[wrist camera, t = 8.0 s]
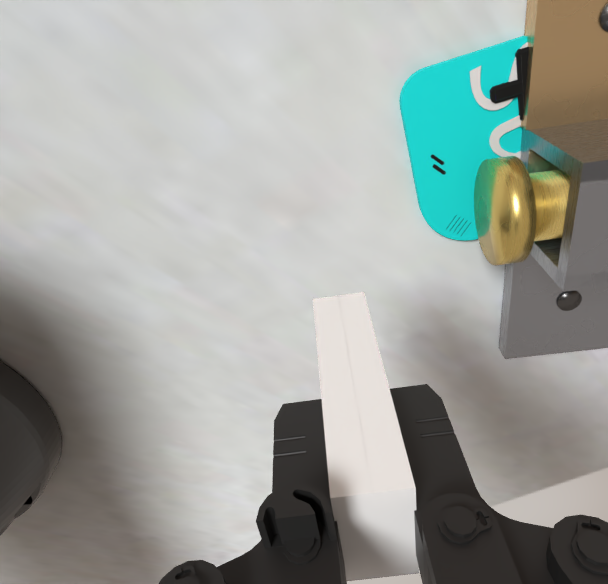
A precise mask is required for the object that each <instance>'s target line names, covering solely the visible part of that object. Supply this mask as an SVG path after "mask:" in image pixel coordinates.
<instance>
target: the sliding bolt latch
mask: <svg viewBox="0 0 608 584" xmlns="http://www.w3.org/2000/svg"><path fill="white" fill-rule="evenodd" d="M524 36H528V38H527V42H528V47H529V57H528V69H527V81H526V92H525V104H524V113H523V120H521V126H520V127H521V128H522V137H521V149H520V151H521V157H520V160H521V161H522V162H523V163H524V165H525V167H526V169H527V171H528V173H536V172H544V171H551V170H558V169H561V170H562V171H564V172H565V173H566V174H568V175H569V176H571V179H570V186H569V193H568V200H567V207H566V214H565V221H564V227H563V234H562V238H556V239H548V240H540V241H534V243H533V247H532V250H531V252H530V254H529V256H528V257H527V259H526V260H524V261H523V262H519V263H511V264H506V267H505V279H504V291H503V304H502V316H501V328H500V340H499V349H500V351H501V353H502V354H503V356H504V358H505V359H508V358H517V357H527V356H536V355H545V354H554V353H563V352H572V351H582V350H591V349H600V348H608V0H527V10H526V22H525V34H524Z"/></svg>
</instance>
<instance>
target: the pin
mask: <svg viewBox="0 0 608 584" xmlns="http://www.w3.org/2000/svg"><path fill="white" fill-rule="evenodd" d="M570 179H571V176H569V175H568V174H566V173H565V172H564V171H562V170H561V169H558V170H551V171H544V172H536V173H528V171H527V169H526V167H525V165H524V163H523V162H522V161H521V160H520V159H519V158H518V157H516V156H507V157H500V158H493V159H486V160H484V161H483V162H482V163H481V165H480V166H479V169H478V172H477V175H476V180H475V188H474V214H475V223H476V229H477V234H478V238H479V242H480V245H481V248H482V251H483V253H484V255H485V257H486V259H487V260H488V261H489V262H490V263H491V264H492V265H503V264H511V263H519V262H523V261H524V260H526V259H527V257H528V256H529V254H530V252H531V250H532V247H533V243H534V241H540V240H548V239H556V238H562V234H563V227H564V221H565V214H566V207H567V200H568V193H569V186H570Z"/></svg>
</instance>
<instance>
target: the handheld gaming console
mask: <svg viewBox="0 0 608 584" xmlns="http://www.w3.org/2000/svg"><path fill="white" fill-rule="evenodd" d="M527 38H528V36H522V37H519V38H515V39H512V40H509V41H506V42H503V43H500V44H497V45H494V46H491V47H487V48H484V49H481V50H478V51H475V52H472V53H469V54H466V55H463V56H459V57H456V58H453V59H450V60H447V61H444V62H441V63H438V64H434V65H431V66H428V67H425V68H423V69H420V70H418V71H416V72H415V73H414V74H412V75H411V76H410V77H409V78H408V80H407V81H406V82H405V84H404V86H403V88H402V91H401V94H400V109H401V115H402V120H403V125H404V130H405V135H406V141H407V146H408V151H409V156H410V161H411V167H412V172H413V177H414V182H415V187H416V193H417V198H418V203H419V207H420V210H421V212H422V215H423V216H424V218H425V220H426V221H427V223H428V224H429V225H430V227H431V228H432V229H434V230H435V231H436V232H437V233H439V234H441V235H442V236H445V237H447V238H450V239H454V240H475V239H479V238H478V234H477V229H476V223H475V214H474V188H475V180H476V175H477V172H478V169H479V166H480V165H481V163H482V162H483V161H484V160H486V159H493V158H500V157H507V156H516V157H518V158H519V159H520V157H521V151H520V149H521V137H522V128H521V127H520V126H521V120H523V113H524V104H525V92H526V81H527V69H528V57H529V47H528V42H527Z"/></svg>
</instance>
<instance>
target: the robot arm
mask: <svg viewBox="0 0 608 584" xmlns="http://www.w3.org/2000/svg"><path fill="white" fill-rule="evenodd" d="M313 309H314V320H315V331H316V343H317V354H318V365H319V376H320V388H321V399H318V400H311V401H303V402H295V403H287V404H283V405H282V407H281V409H280V411H279V413H278V415H277V417H276V419H275V420H274V450H273V455H274V458H273V487H272V493H271V494H270V495H269V496H268V497H267V498H266V499H265V501H264V502H263V503H262V505H261V506H260V508H259V512H258V515H257V519H256V523H257V526H258V529H259V532H260V535H261V538H262V539H261V541H260V542H259V543H258V544H257V545H256V546H255V547H254V548H253V549H252V550H250V551H248V552H247V553H245V554H243V555H242V556H240V557H238V558H235V559H233V560H231V561H229V562H227V563H225V564H223V565H220V566H218V567H215V565H213V564H211V563H208V562H206V561H203V560H197V561H187V562H185V563H183V564H181V565H179V566H177V567H174V568H173V569H172V570H171V571H170V572H169V573H168V574H166V575H165V576H164V577H163V578H162V579H161V581H160V582H159V584H347V582H346V581H352V580H362V579H371V578H380V577H389V576H398V575H406V574H416V573H419V570H420V574H421V578H422V583H423V584H608V523H607V522H605V521H603V520H601V519H599V518H596V517H591V516H585V515H576V516H569V517H565V518H564V519H562V520H561V521H560V522H558V523H556V524H555V526H554V528H549V527H544V526H538V525H533V524H528V523H523V522H519V521H515V520H512V519H509V518H507V517H505V516H503V515H501V514H499V513H497V512H496V511H494V509H492V508H491V507H490V506H488V505H487V503H486V502H485V501H484V500H483V499H482V498H481V496H480V495H479V493H478V491H477V489H476V487H475V484H474V482H473V479H472V476H471V474H470V471H469V469H468V466H467V463H466V461H465V458H464V456H463V453H462V451H461V448H460V445H459V443H458V440H457V438H456V435H455V434H454V430H453V427H452V425H451V422H450V419H449V418H448V414H447V412H446V409H445V406H444V404H443V401H442V399H441V397H439V396H438V395H437V394H436V393H435V392H434V391H433V390H432V389H431V388H430V387H429V386H428V385H427V384H425V385H417V386H409V387H402V388H394V389H389V385H388V381H387V377H386V373H385V370H384V366H383V362H382V358H381V355H380V351H379V347H378V343H377V339H376V336H375V332H374V328H373V324H372V320H371V317H370V313H369V309H368V305H367V301H366V298H365V294H364V292H359V293H351V294H344V295H337V296H330V297H323V298H315V299H313ZM61 449H62V441H61V434H60V429H59V426H58V423H57V421H56V419H55V417H54V415H53V413H52V411H51V409H50V408H49V406H48V405H47V403H46V402H45V401H44V399H43V398H42V397H41V396H40V394H39V393H38V392H37V391H36V390H35V389H34V388H33V387H32V386H31V385H30V384H29V383H28V382H27V381H26V380H25V379H23V378H22V377H21V376H20V375H19V374H17V373H16V372H15V371H13V370H12V369H11V368H9V367H8V366H6V365H5V364H3V363H2V362H0V535H1V534H2V533H3V532H4V531H5V530H6V529H7V527H8V526H9V525H10V524H11V522H12V521H13V520H14V519H15V518H16V517H18V516H20V515H21V514H22V513H24V512H25V511H26V510H27V509H28V508H29V507H30V506H31V505H32V504H33V503H34V502H35V501H36V500H37V499H38V497H39V496H40V495H41V493H42V492H43V490H44V488H45V487H46V485H47V483H48V481H49V479H50V477H51V475H52V473H53V471H54V470H55V468H56V466H57V464H58V461H59V459H60V455H61Z"/></svg>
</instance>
